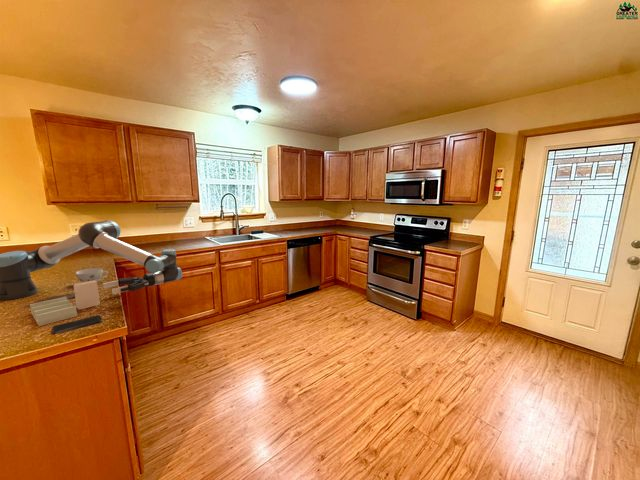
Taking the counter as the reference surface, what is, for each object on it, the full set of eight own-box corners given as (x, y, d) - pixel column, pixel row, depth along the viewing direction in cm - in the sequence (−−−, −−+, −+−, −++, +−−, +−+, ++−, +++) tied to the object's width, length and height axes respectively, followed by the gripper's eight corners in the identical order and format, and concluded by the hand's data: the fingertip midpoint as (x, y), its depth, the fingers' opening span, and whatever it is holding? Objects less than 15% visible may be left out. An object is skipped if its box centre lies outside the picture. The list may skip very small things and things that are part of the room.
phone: (102, 320, 112) (52, 332, 101) (102, 322, 112) (53, 335, 101) (99, 314, 117) (52, 326, 106) (99, 317, 117) (52, 328, 106)
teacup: (75, 287, 153) (73, 274, 152) (79, 282, 163) (77, 269, 162) (107, 283, 162) (106, 270, 160) (109, 278, 172) (108, 266, 170)
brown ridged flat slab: (86, 290, 150) (86, 288, 150) (93, 294, 144) (93, 292, 144) (19, 305, 129) (19, 303, 128) (24, 310, 123) (23, 308, 122)
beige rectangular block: (76, 308, 125) (73, 284, 124) (97, 302, 132) (94, 280, 130) (78, 309, 123) (75, 285, 122) (99, 304, 130) (96, 281, 128)
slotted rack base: (31, 313, 119) (29, 304, 118) (67, 305, 129) (65, 296, 128) (38, 326, 107) (37, 316, 107) (77, 315, 117) (76, 306, 116)
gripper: (163, 289, 143) (117, 301, 126) (144, 280, 158) (100, 290, 141) (162, 276, 142) (115, 286, 125) (143, 269, 156) (99, 277, 139)
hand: (107, 288), depth 133 cm, fingers open, 13 cm apart
